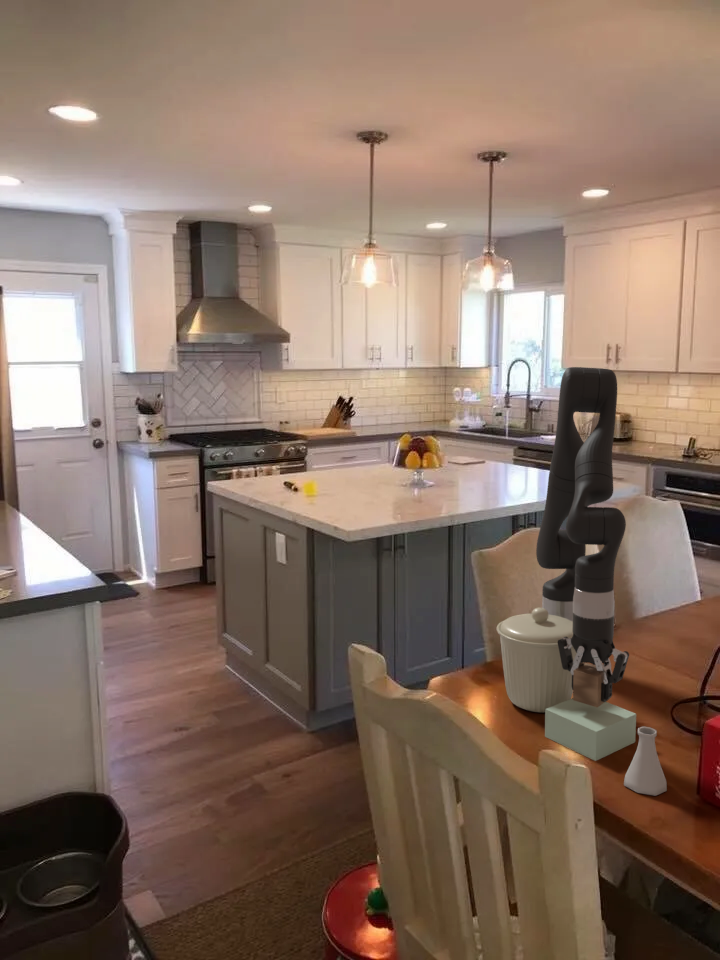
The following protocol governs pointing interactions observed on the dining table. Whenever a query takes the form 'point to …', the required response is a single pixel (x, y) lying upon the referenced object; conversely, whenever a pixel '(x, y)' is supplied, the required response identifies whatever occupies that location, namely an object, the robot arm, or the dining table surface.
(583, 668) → the walnut block
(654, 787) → the flask
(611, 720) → the sage box
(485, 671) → the dining table surface
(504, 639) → the canister
